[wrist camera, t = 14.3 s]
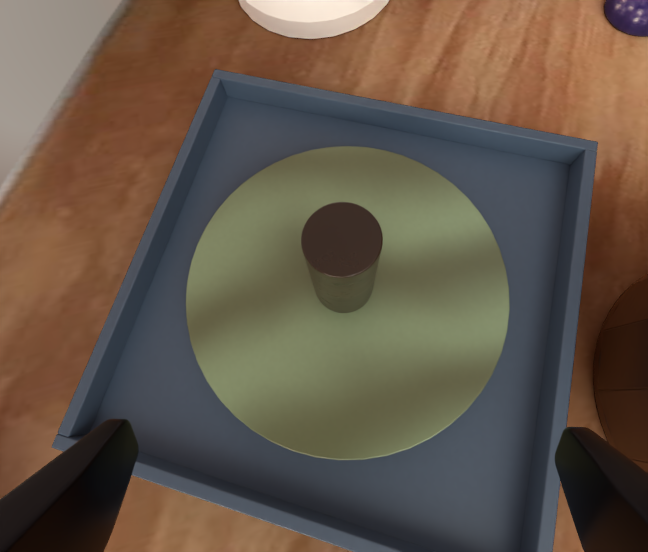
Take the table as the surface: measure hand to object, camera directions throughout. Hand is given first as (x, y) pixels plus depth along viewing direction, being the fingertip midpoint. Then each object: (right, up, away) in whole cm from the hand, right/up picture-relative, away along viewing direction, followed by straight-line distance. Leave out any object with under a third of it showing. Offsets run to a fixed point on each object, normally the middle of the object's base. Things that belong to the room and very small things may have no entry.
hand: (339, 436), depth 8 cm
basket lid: (+1, +3, +12) cm, 12 cm away
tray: (+1, +2, +13) cm, 13 cm away
